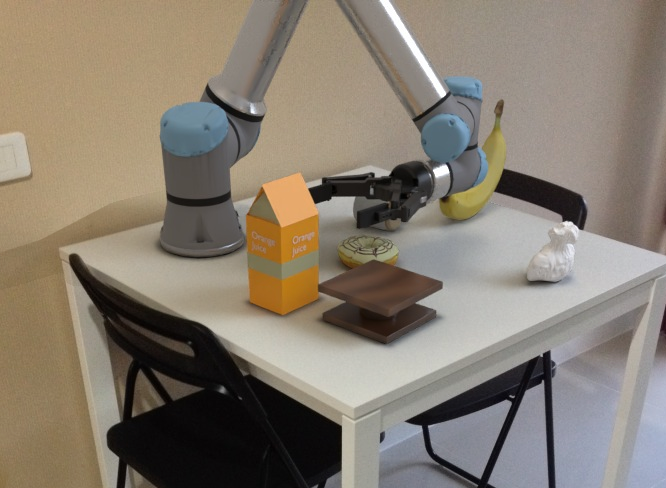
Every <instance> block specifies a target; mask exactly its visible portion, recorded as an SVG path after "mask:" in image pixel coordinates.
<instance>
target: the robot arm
mask: <svg viewBox="0 0 666 488" xmlns="http://www.w3.org/2000/svg"><path fill="white" fill-rule="evenodd" d="M333 1H334V3H335V4H336V6H337V7H338V8H339V10H340V12H341V13H342V15H343V16H344V18H345V19H346V21H347V22H348V24H349V26H350V27H351V29H352V30H353V32H354V33H355V35H356V37H357V38H358V39H359V41H360V42H361V44H362V45H363V47H364V48H365V50H366V52H367V53H368V55H369V56H370V58H371V59H372V61H373V62H374V64H375V66H376V67H377V69H378V70H379V71H380V73H381V74H382V77H383V78H384V80H385V81H386V82H387V84H388V86H389V87H390V88H391V90H392V92H393V93H394V95H395V96H396V98H397V100H398V101H399V103H400V104H401V105H402V107H403V109H404V110H405V111H406V113H407V115H408V116H409V117H410V120H412V122H413V124H414V126H415V128H416V129H417V130H418V132H419V134H420V143H421V148H422V150H423V152H424V154H425V155H426V156H423V157H419V158H416V159H413V160H410V161H406V162H403V163H400V164H397V165H396V166H394V167H393V169H391V172H390V173H389V174H388V175H381V176H379V177H376V173H375V172H373V171H370V172H366V173H359V174H348V175H335V176H324V177H323V176H322V177H321V184H318V185H315V186H311V187H307V188H308V190H309V192H310V195H311V197H312V199H313V201H314V203H315V205H318V204H320V203H323V202H324V203H325V202H330V200H331V201H332V198H346V197H347V198H355V197H366V199H368V200H375V199H380V200H382V201H386V202H391V205H390V207H389V203H386V202H385V203H382V204H379V205H376V206H372V207H369V208H366V209H363V210H360V211H357V221H356V229H358V230H363V229H365V228H369V227H371V225H374V224H378V223H381V222H384V221H387V220H389V219H390V220H397V218H399V219H401V222H402V223H403V224H404V223H408V222H409V221H410V220H411V219H412V217H413V216H414V215H415V214H416V213H418V211H420V209H422V208H425V207H426V206H427V205H430V204H431V202H433V201H436V200H439V199H440V198H443V197H446V196H449V195H452V194H456V193H459V192H465V191H467V190H469V189H471V188H474V187H476V186H477V185H479V184H481V183H482V182H483V181H484V179H485V177H486V175H487V172H488V163H487V160H486V155H485V153H484V151H483V150H482V147H480V146H479V145H478V144H479V133H480V124H481V123H480V122H481V114H482V113H481V112H482V103H483V101H484V100H483V83H482V82H481V81H480V79H477V78H476V77H471V76H465V75H463V76H462V75H456V76H455V75H454V76H447V77H445V78H443V77H442V75H441V74H440V72H439V70H438V69H437V67H436V65H435V64H434V63H433V61H432V59H431V58H430V56H429V55H428V53H427V51H426V50H425V48H424V46H423V45H422V43H421V42H420V40H419V38H418V37H417V35H416V33H415V32H414V31H413V30H414V29H412V27H411V26H410V24H409V22H408V21H407V19H406V18H405V15H404V14H403V13H402V11H401V10H400V8H399V6H398V5H397V3H396V1H395V0H333ZM309 2H310V0H252V1H251V4H250V6H249V8H248V9H247V13H246V15H245V17H244V20H243V22H242V24H241V26H240V29H239V31H238V33H237V35H236V38H235V40H234V43H233V45H232V47H231V50H230V52H229V54H228V57H227V59H226V61H225V64H224V66H223V68H222V71H221V72H220V73H219V74H215V75H212V76H210V77H209V79H208V81H207V83H206V85H205V88H204V89H203V92H202V94H201V96H200V99H199V101H188V102H184V103H182V104H176V105H174V106H172V107H169V108H168V109H167V110H166V111H164V113H163V114H162V115H161V117H160V122H159V141H160V146H161V155H162V166H163V175H164V185H165V195H166V207H165V211H164V217H163V223H162V226H161V228H160V233H159V239H160V245H161V247H162V249H164V250H165V251H167V252H169V253H170V254H174V255H178V256H181V257H191V258H206V257H207V258H209V257H217V256H223V255H226V254H229V253H231V252H234V251H237V250H238V249H240V248H241V247H242V246H243V244H244V241H245V240H244V230H243V227H242V224H241V223H240V221H239V218H240V216H239V213H238V211H237V210H236V209H235V206H234V202H233V200H232V183H231V182H232V181H231V169H232V167H233V166H234V165H236V164H237V163H238V162H239V161H240V160H241V159H243V158H245V157H246V156H247V155H249V153H251V151H253V149H254V148H255V146H256V144H257V142H258V140H259V137H260V135H261V128H262V122H263V120H264V118H265V116H266V114H267V112H268V107H267V104H266V101H265V97H266V94H267V92H268V90H269V88H270V86H271V83H272V82H273V79H274V77H275V75H276V73H277V72H278V69H279V66H280V64H281V63H282V60H283V57H284V56H285V54H286V52H287V50H288V48H289V45H290V43H291V41H292V39H293V36H294V34H295V32H296V30H297V28H298V26H299V24H300V22H301V19H302V18H303V16H304V13H305V12H306V9H307V6H308V5H309ZM372 188H373V194H370V190H371V189H372Z"/></svg>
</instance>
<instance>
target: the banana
mask: <svg viewBox="0 0 666 488" xmlns="http://www.w3.org/2000/svg"><path fill="white" fill-rule="evenodd" d="M504 107H505V101H504V99H499V100H498V101H497V102H496V105H495V107H494V110H493V113H494V114H495V118H494V119H495V120H494V125H493V128H492V130H491V132H490V134H489V135H488V136H487V137H486V139H485V141H484V142H483V145H482V147H481V149H482V150H483V151H484V153H485V155H486V160H487V163H488V172H487V175H486V177H485V179H484V181H483V182H482V183H481V184H479V185H477V186H476V187H474V188H471V189H469V190H467V191H465V192H459V193H456V194H452V195H449V196H446V197H443V198H440V199H438V202H439V209H440V211H441V214H442V215H443V216H445V217H446V218H449V219H452V220H456V221H457V220H458V221H462V220H467V219H470V218H471V217H473V216H475V215H476V214H477V213H479V212H481V210H482V209H484V208H485V206H486V205H487V204H488V202H489V201H490V199H491V198H492V196H493V194H494V193H495V190H496V189H497V186H498V184H499V182H500V179H501V177H502V174H503V172H504V168H505V164H506V160H507V159H506V158H507V144H506V140H505V137H504V135H503V132H502V128H501V119H502V115H503V114H504Z"/></svg>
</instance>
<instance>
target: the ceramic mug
mask: <svg viewBox="0 0 666 488" xmlns="http://www.w3.org/2000/svg"><path fill="white" fill-rule="evenodd" d="M370 194H373V188H372V189H371V190H370ZM385 202H386V201H382V200H380V199H375V200H368V199H366V197H354V200H353V205H352V215H353V218H354V221H356V222H357V211H360V210H363V209H366V208H369V207H372V206H376V205H379V204H382V203H385ZM386 203H389V207H390V205H391V202H386ZM402 223H403V222H401V219H399V218H397V220H390V219H389V220H387V221H384V222H381V223H378V224H374V225H371V226H370V228H371V227H372V228H374V229H375V228H376V229H379V230H383V231H387V232H388V231H389V232H391V231H395V230H396V229H398V228H399V227H400V226H401V225H402Z"/></svg>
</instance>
